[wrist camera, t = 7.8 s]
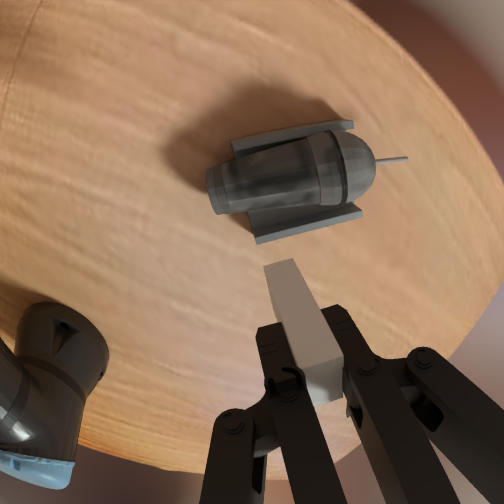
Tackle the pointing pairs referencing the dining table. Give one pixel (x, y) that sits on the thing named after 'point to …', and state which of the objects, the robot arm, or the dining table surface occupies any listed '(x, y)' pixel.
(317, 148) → the beverage cup
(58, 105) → the dining table surface
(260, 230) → the cradle
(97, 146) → the dining table surface
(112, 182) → the dining table surface
